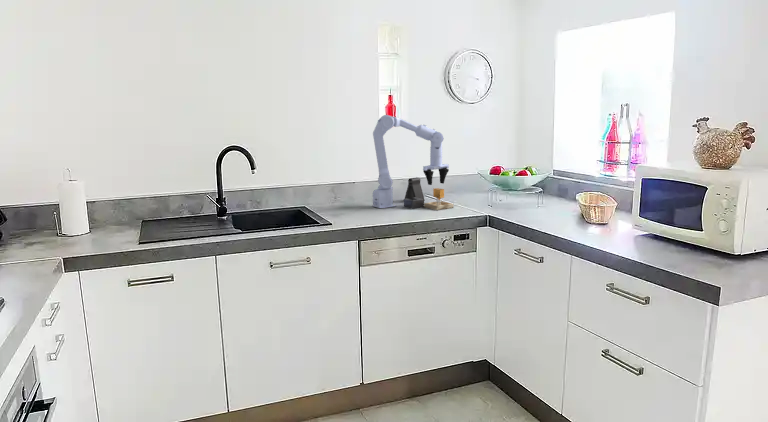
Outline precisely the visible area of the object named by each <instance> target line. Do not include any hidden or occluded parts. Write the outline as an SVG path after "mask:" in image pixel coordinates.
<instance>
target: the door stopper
mask: <svg viewBox="0 0 768 422" xmlns="http://www.w3.org/2000/svg"><path fill="white" fill-rule="evenodd" d="M407 182H408V184H407V189H406V192H405V195H404V199H407V198H415V197H416V198H420V199H424V202H426V201H425V196H424V192H423V189H422V185H421V178H420V177H417V176H416V177H411V178H410V177H409V179H408V181H407ZM404 199H403V200H404Z"/></svg>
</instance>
